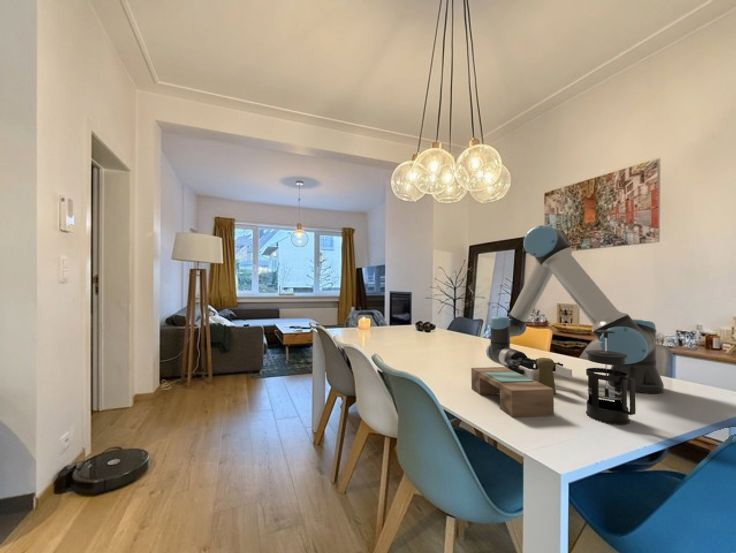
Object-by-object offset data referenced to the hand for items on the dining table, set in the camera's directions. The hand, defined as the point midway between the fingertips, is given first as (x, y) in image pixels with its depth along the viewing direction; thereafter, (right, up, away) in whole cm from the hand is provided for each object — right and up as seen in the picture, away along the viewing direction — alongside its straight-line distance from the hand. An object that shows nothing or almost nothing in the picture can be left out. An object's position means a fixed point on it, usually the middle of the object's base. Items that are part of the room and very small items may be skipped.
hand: (551, 374), depth 104 cm
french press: (+5, -6, -19) cm, 20 cm away
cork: (0, -7, +3) cm, 7 cm away
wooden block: (-16, -6, -6) cm, 19 cm away
